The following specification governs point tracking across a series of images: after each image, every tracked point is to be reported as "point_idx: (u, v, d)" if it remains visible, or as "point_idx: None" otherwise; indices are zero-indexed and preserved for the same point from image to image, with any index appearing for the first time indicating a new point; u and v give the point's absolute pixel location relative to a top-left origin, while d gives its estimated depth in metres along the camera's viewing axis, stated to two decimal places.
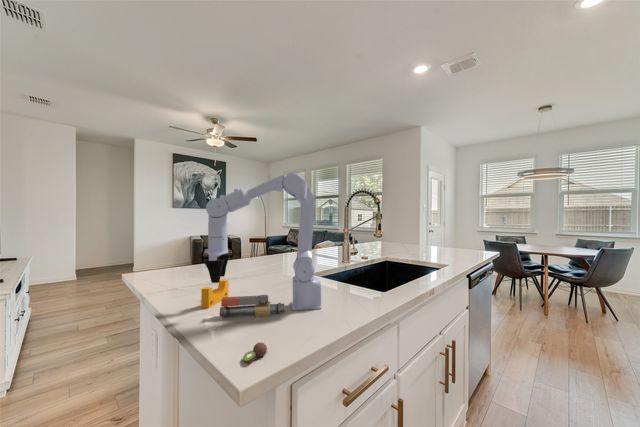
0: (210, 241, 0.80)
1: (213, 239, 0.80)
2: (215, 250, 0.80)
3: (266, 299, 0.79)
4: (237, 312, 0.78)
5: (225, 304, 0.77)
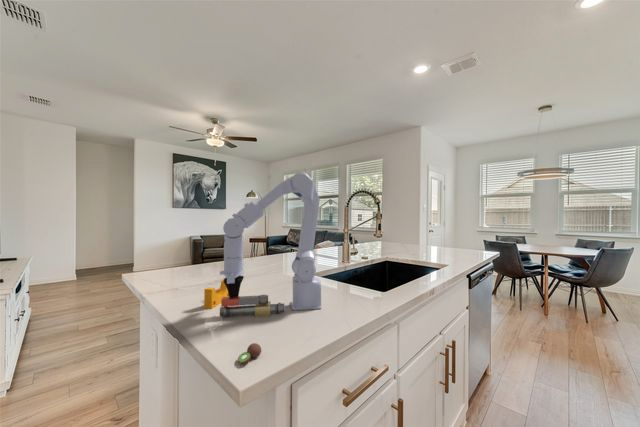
0: (226, 262, 0.78)
1: (230, 260, 0.78)
2: (232, 271, 0.78)
3: (266, 299, 0.79)
4: (237, 312, 0.78)
5: (225, 304, 0.77)
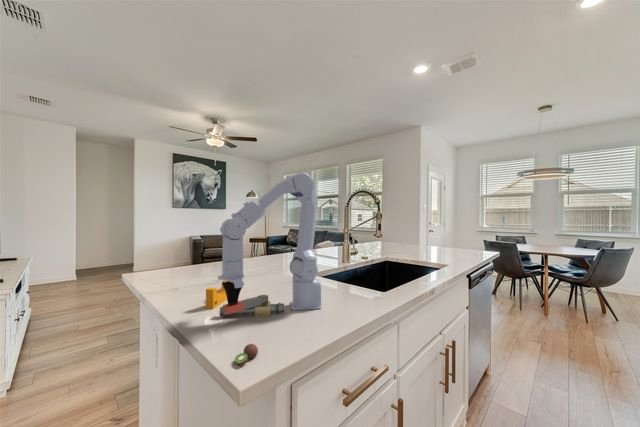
0: (228, 266, 0.72)
1: (232, 263, 0.72)
2: (234, 275, 0.73)
3: (267, 298, 0.80)
4: (237, 312, 0.78)
5: (230, 311, 0.72)
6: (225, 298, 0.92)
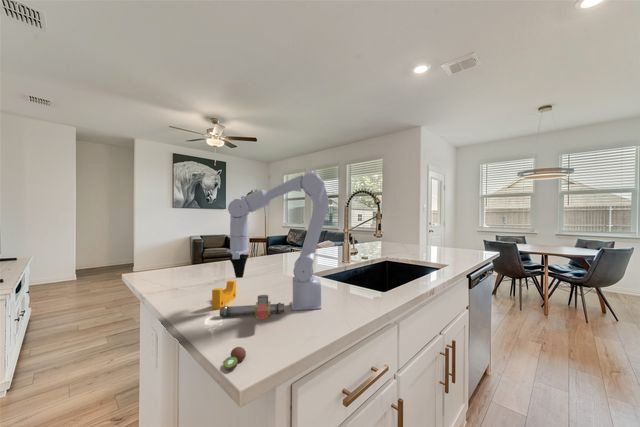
0: (232, 240, 0.83)
1: (235, 238, 0.83)
2: (237, 249, 0.83)
3: None
4: (237, 312, 0.78)
5: None
6: (230, 298, 0.91)
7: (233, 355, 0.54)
